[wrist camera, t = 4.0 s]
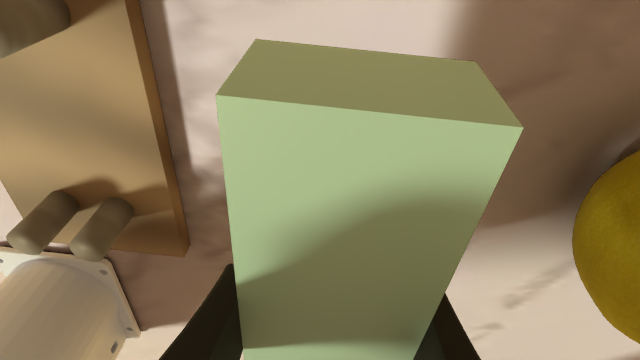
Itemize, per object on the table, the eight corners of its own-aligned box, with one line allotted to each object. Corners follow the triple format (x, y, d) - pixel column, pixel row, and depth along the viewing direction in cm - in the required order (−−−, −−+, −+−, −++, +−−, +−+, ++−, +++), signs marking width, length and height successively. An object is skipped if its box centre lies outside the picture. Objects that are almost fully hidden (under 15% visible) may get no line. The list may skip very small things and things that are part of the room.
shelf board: (373, 360, 17) (375, 436, 14) (265, 348, 17) (250, 421, 15) (475, 61, 8) (524, 127, 6) (255, 38, 8) (215, 95, 6)
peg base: (190, 244, 23) (163, 301, 19) (47, 228, 23) (-3, 281, 20) (117, -103, 12) (32, -103, 9) (-147, -129, 12) (-322, -138, 9)
